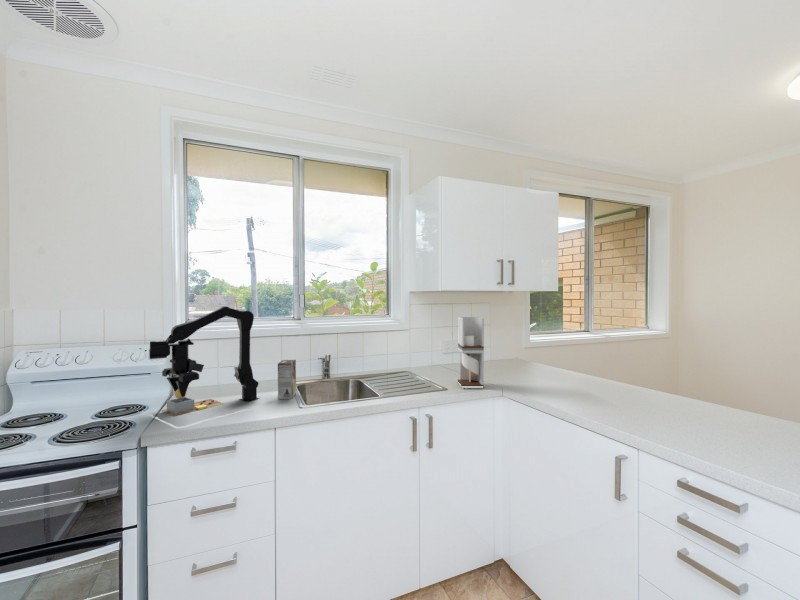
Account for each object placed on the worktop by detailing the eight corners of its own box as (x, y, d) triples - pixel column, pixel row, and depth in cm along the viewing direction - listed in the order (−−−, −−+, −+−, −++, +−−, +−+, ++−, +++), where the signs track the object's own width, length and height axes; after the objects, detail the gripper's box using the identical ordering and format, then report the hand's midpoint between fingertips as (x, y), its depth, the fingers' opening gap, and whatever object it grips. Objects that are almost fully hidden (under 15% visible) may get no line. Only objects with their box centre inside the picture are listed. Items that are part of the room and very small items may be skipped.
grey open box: (194, 409, 149) (194, 399, 149) (175, 414, 143) (175, 403, 143) (185, 406, 154) (185, 396, 153) (166, 410, 148) (166, 400, 148)
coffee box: (282, 393, 175) (282, 359, 175) (296, 393, 176) (296, 359, 175) (277, 399, 166) (277, 363, 166) (292, 398, 166) (292, 363, 166)
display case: (457, 383, 196) (458, 317, 195) (477, 383, 196) (478, 317, 195) (462, 389, 184) (462, 318, 183) (483, 388, 185) (483, 318, 184)
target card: (207, 407, 151) (207, 405, 151) (198, 410, 149) (198, 408, 148) (203, 406, 154) (203, 404, 154) (194, 408, 151) (194, 406, 151)
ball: (188, 398, 149) (188, 388, 149) (177, 400, 146) (177, 390, 146) (183, 396, 151) (183, 386, 151) (172, 398, 148) (172, 388, 148)
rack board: (225, 405, 157) (225, 402, 157) (174, 417, 141) (174, 414, 141) (210, 400, 164) (210, 397, 164) (160, 411, 148) (160, 408, 148)
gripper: (212, 356, 149) (212, 394, 150) (190, 351, 160) (190, 387, 160) (183, 360, 140) (183, 401, 140) (161, 355, 151) (161, 393, 151)
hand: (180, 395), depth 148 cm, fingers open, 4 cm apart
